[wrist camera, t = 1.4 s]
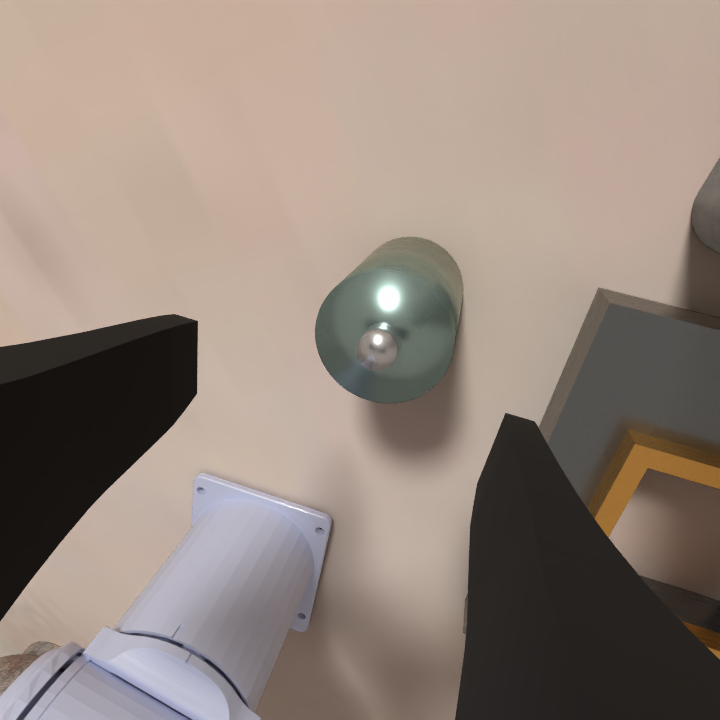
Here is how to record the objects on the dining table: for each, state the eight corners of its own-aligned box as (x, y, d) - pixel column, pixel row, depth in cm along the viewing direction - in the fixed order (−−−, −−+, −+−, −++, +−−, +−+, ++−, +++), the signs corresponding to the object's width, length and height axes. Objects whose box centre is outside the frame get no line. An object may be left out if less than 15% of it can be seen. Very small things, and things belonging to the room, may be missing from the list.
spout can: (447, 350, 21) (429, 435, 15) (350, 323, 22) (295, 395, 16) (476, 251, 19) (470, 302, 13) (370, 225, 20) (316, 262, 14)
